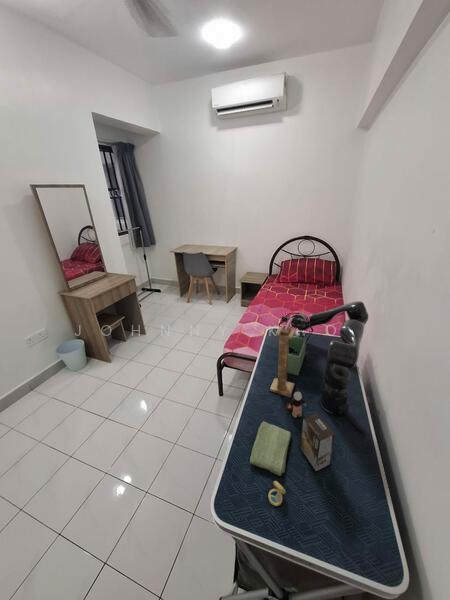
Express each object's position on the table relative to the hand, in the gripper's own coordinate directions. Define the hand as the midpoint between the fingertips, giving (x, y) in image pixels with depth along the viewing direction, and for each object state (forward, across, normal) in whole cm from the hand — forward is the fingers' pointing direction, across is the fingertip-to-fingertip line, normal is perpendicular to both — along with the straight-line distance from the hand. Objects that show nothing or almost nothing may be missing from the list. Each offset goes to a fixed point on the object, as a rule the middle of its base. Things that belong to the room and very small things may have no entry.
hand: (293, 321), depth 118 cm
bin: (-18, 0, +23) cm, 29 cm away
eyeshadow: (+39, +10, +56) cm, 69 cm away
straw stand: (-1, 0, +33) cm, 33 cm away
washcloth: (+27, +4, +49) cm, 56 cm away
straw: (+13, 0, +2) cm, 13 cm away
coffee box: (+23, +19, +47) cm, 56 cm away
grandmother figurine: (+10, +9, +40) cm, 42 cm away
